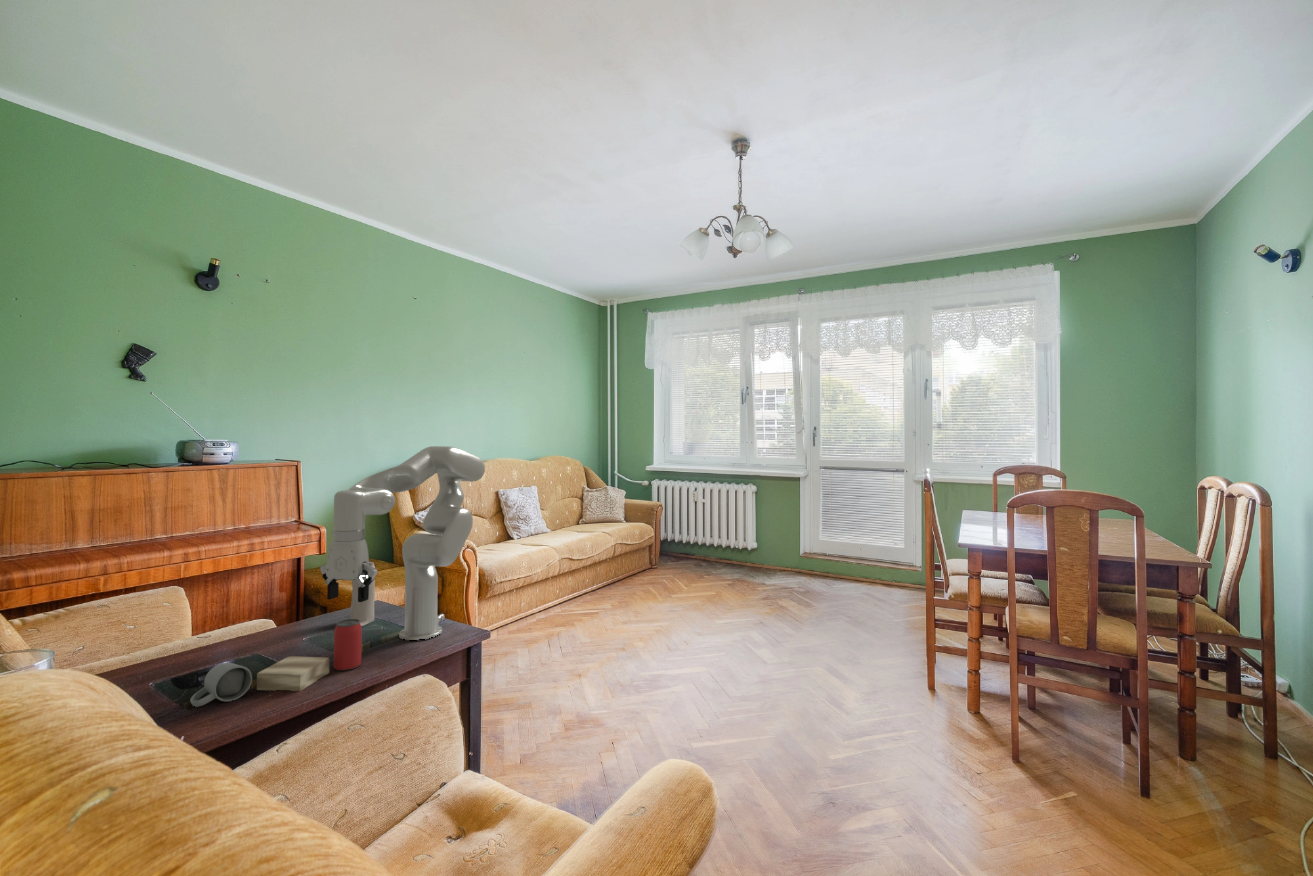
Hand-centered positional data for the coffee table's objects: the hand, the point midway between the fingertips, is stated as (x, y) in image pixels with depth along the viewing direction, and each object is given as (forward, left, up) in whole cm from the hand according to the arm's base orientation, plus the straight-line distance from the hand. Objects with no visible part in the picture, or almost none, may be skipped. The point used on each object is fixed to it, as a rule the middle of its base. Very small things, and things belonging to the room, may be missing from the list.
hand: (347, 599), depth 151 cm
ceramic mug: (+23, -14, -18) cm, 33 cm away
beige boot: (-30, -24, -18) cm, 43 cm away
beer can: (0, 0, -18) cm, 18 cm away
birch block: (+11, -6, -18) cm, 22 cm away
